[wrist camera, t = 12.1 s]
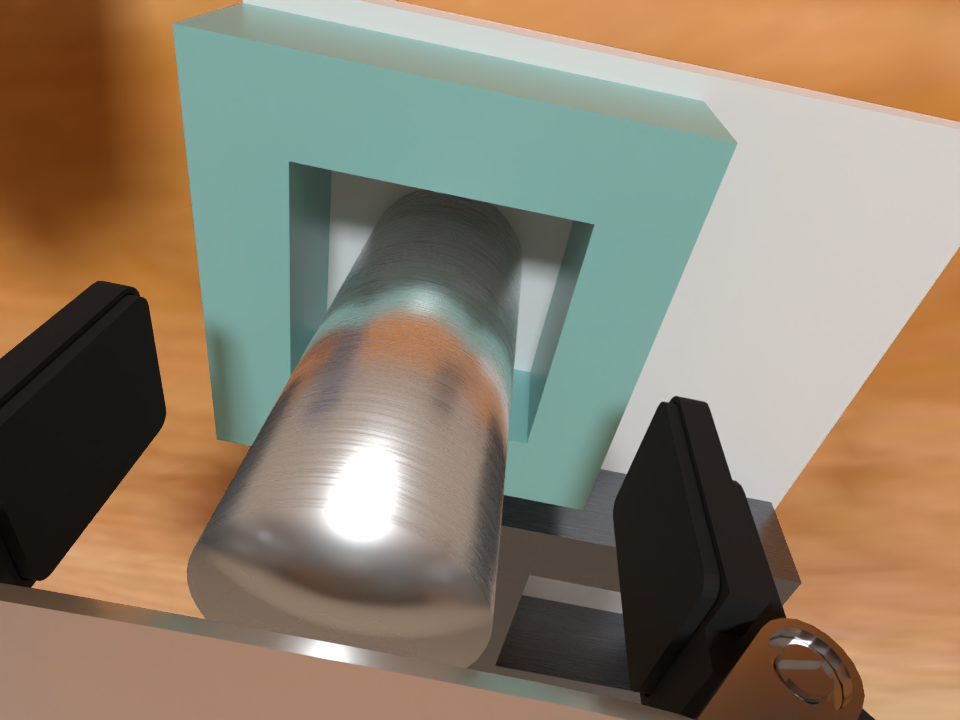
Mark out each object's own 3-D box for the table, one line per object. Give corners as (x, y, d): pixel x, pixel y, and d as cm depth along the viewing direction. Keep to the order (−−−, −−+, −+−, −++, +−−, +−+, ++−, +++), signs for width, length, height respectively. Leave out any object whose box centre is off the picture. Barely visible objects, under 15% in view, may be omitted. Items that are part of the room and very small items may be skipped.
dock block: (703, 100, 13) (737, 142, 11) (579, 434, 19) (582, 510, 17) (242, 2, 13) (172, 23, 11) (259, 372, 19) (216, 439, 17)
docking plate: (1004, 131, 14) (1031, 144, 13) (664, 639, 27) (667, 661, 26) (259, -29, 14) (241, -25, 13) (278, 566, 27) (269, 587, 26)
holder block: (771, 502, 20) (801, 583, 18) (668, 651, 26) (680, 728, 23) (484, 446, 20) (475, 520, 17) (443, 609, 25) (432, 682, 23)
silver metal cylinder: (538, 205, 15) (522, 546, 7) (505, 338, 17) (466, 708, 9) (376, 172, 15) (167, 478, 7) (365, 311, 17) (201, 660, 9)
